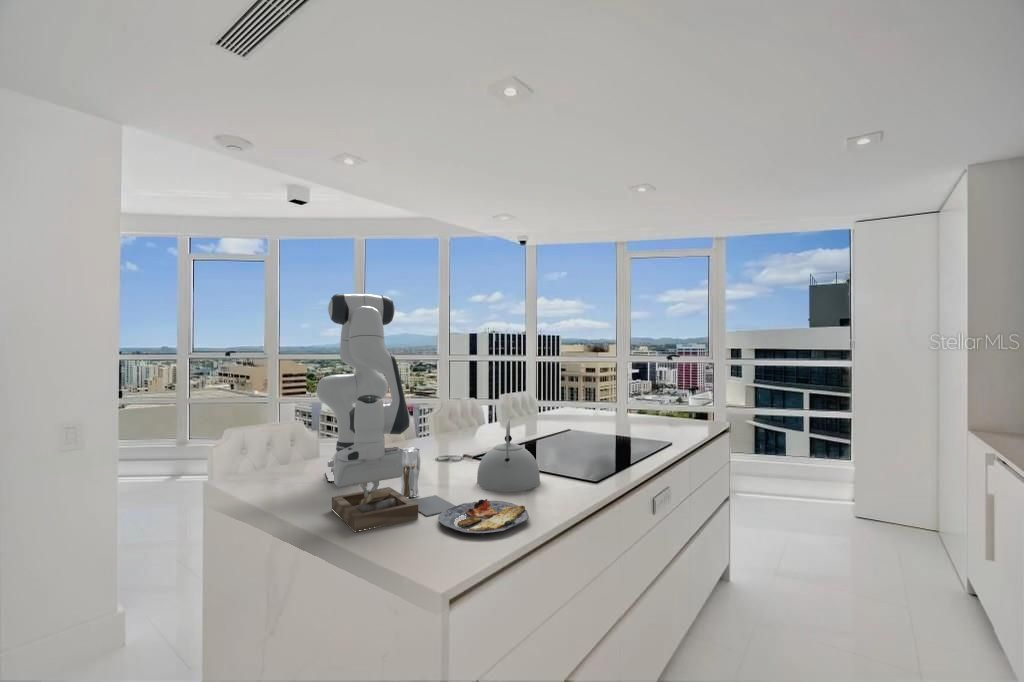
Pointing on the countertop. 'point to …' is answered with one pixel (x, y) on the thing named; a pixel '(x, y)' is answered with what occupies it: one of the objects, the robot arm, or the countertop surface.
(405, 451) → the drinking glass
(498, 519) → the food plate
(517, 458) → the kettle
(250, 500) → the countertop surface
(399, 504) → the pocket board
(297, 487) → the countertop surface
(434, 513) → the rubber mat
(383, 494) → the maple bar
